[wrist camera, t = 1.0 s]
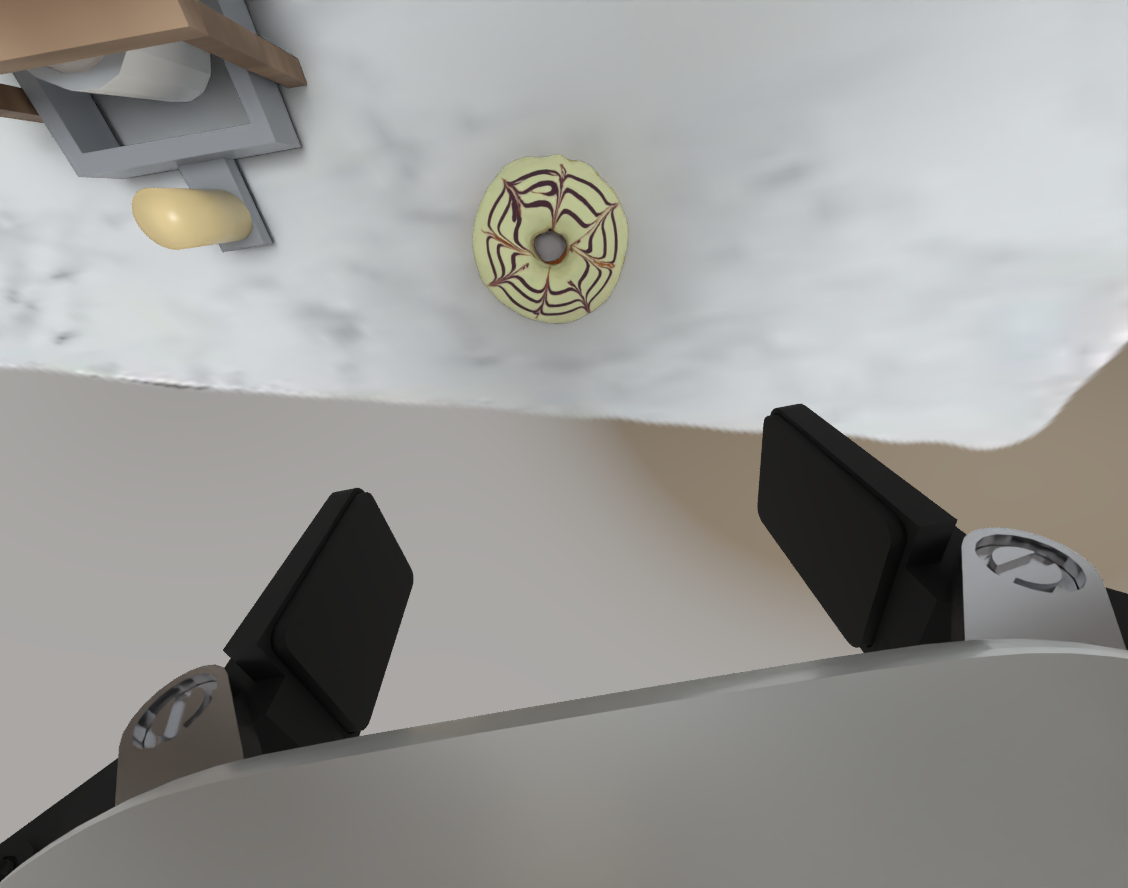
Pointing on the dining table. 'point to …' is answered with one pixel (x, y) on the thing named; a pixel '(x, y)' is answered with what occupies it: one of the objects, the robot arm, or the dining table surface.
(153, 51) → the white cylinder
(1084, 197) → the dining table surface
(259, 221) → the slider
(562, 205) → the decorated donut
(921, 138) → the dining table surface
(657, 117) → the dining table surface
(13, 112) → the tunnel
